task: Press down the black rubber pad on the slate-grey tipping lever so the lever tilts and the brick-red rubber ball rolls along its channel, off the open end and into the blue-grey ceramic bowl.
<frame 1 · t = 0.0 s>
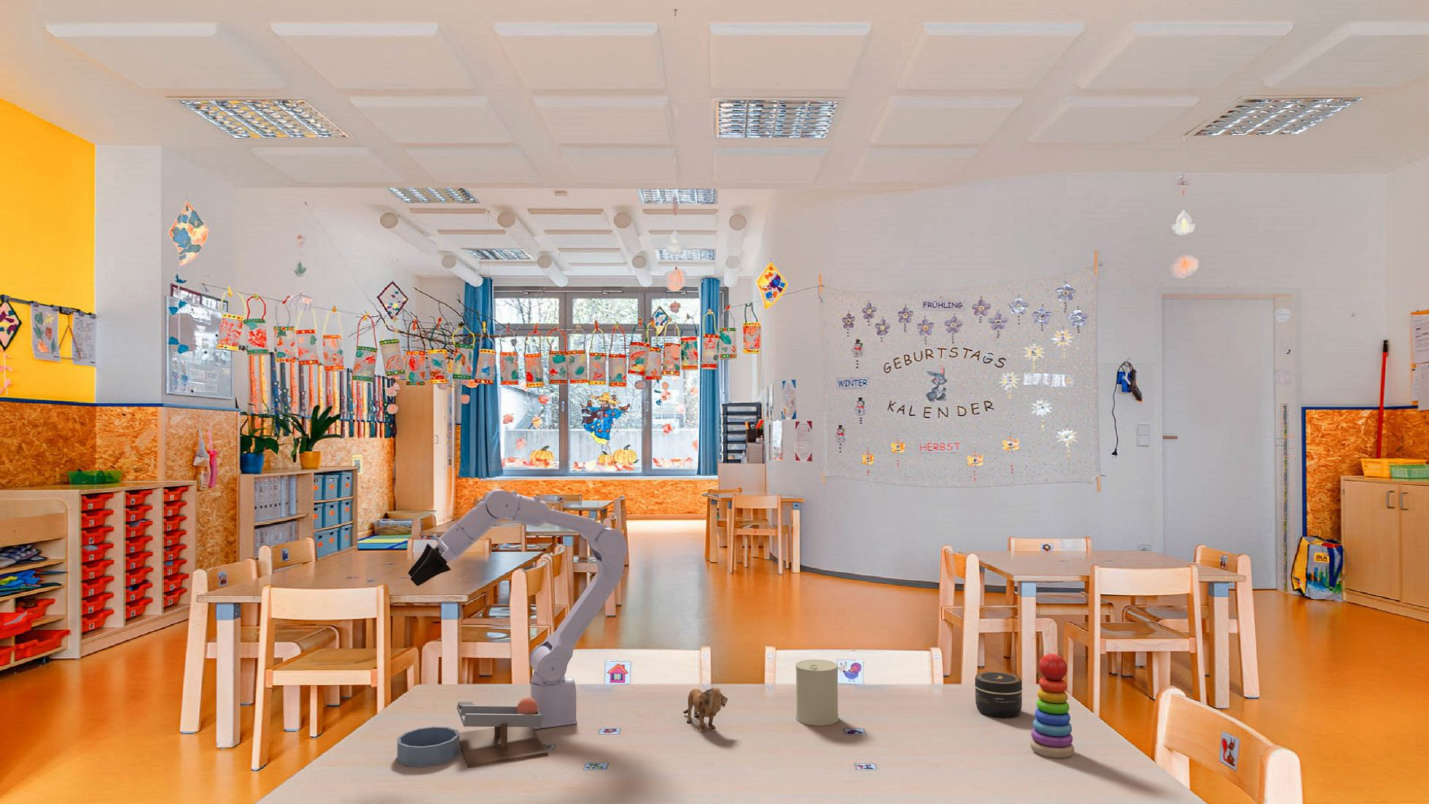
hand: (412, 579, 176), 32 cm above the table, tool tilted 50°, fingers open, 7 cm apart
lion figurine: (703, 726, 184), on the table
bowl: (428, 755, 167), on the table
stacking toy: (1052, 752, 168), on the table
can: (817, 719, 188), on the table
lever: (499, 711, 175), point 6 cm above the table, hinge at -8.0°, touching ball
jar: (998, 712, 192), on the table
ball: (527, 707, 175), point 7 cm above the table, tilted 10°, touching lever
catapult base: (500, 745, 172), on the table
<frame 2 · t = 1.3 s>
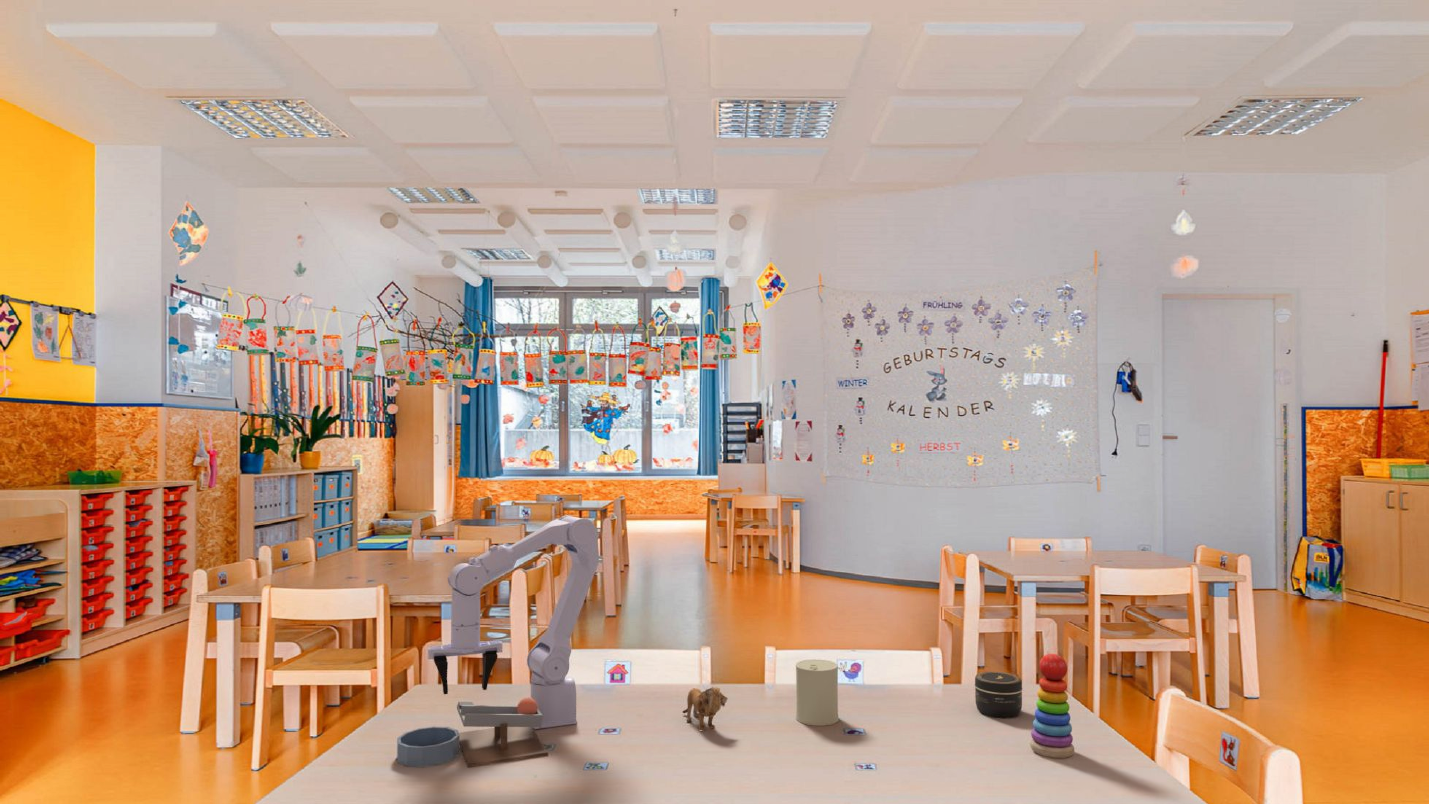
hand: (465, 690, 177), 9 cm above the table, tool pointing down, fingers open, 7 cm apart
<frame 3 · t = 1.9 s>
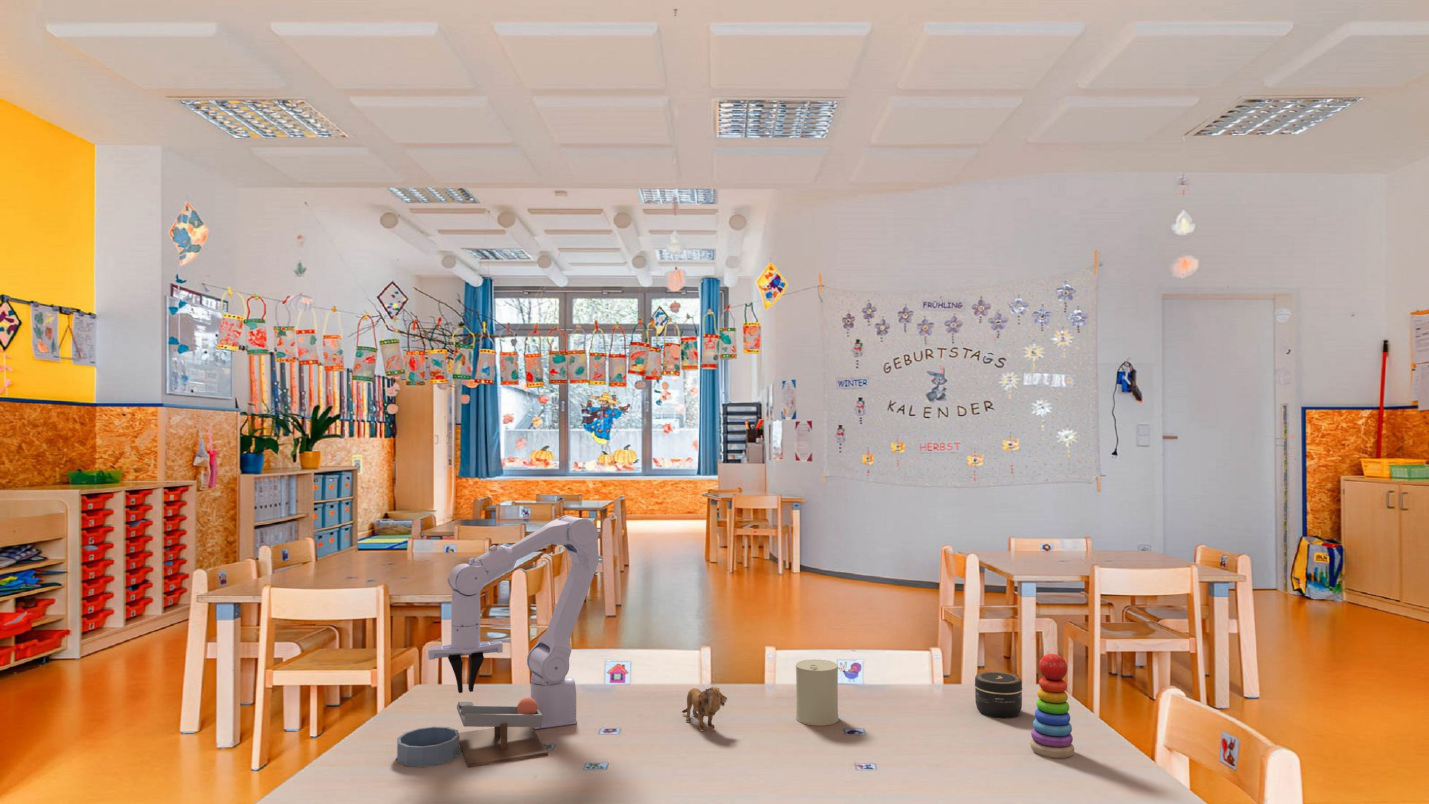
hand: (465, 691, 177), 9 cm above the table, tool pointing down, fingers closed
nothing on the table moved.
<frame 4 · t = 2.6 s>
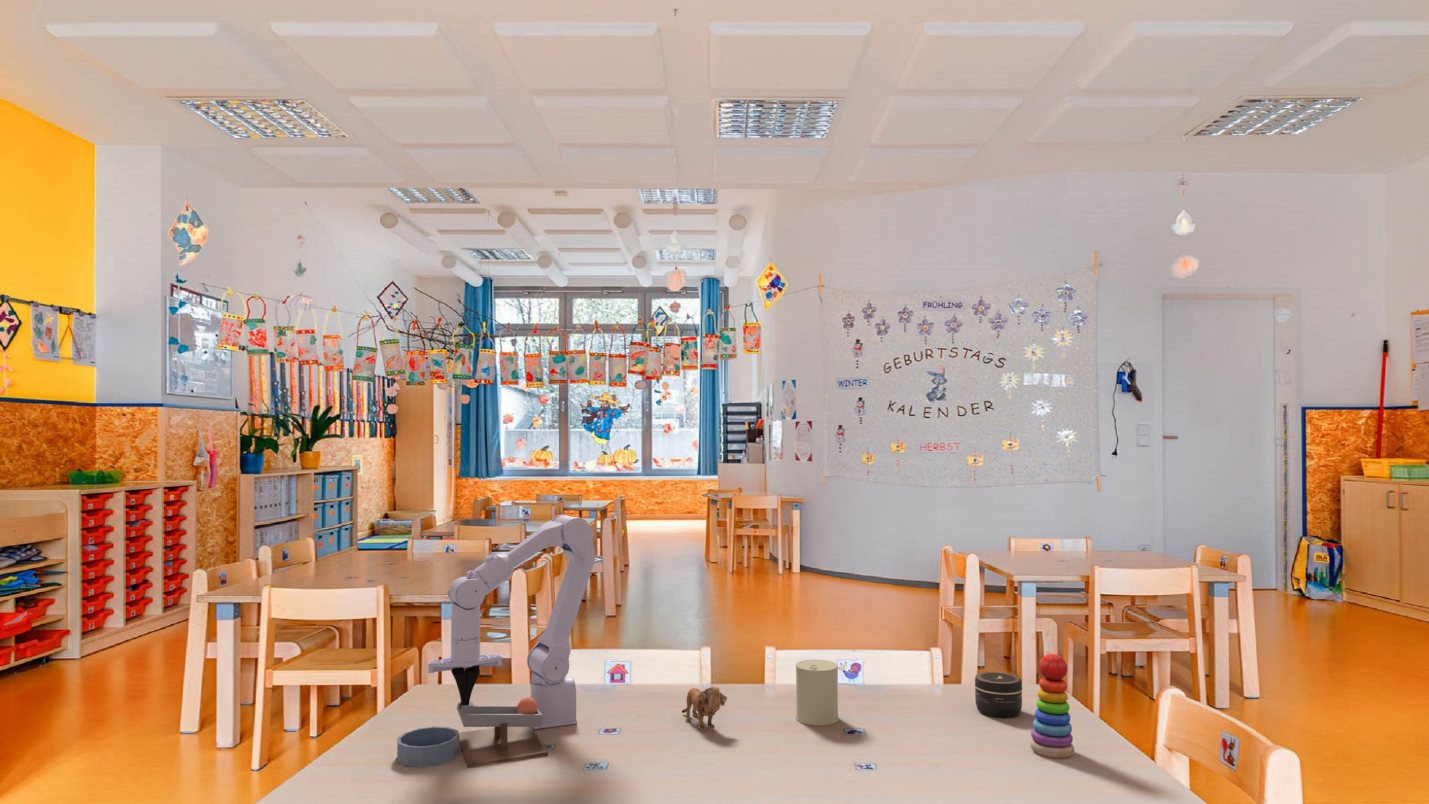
hand: (464, 704, 177), 7 cm above the table, tool pointing down, fingers closed, pressing on lever
lever: (499, 711, 175), point 6 cm above the table, hinge at -7.5°, touching ball, gripper
everything else where it was.
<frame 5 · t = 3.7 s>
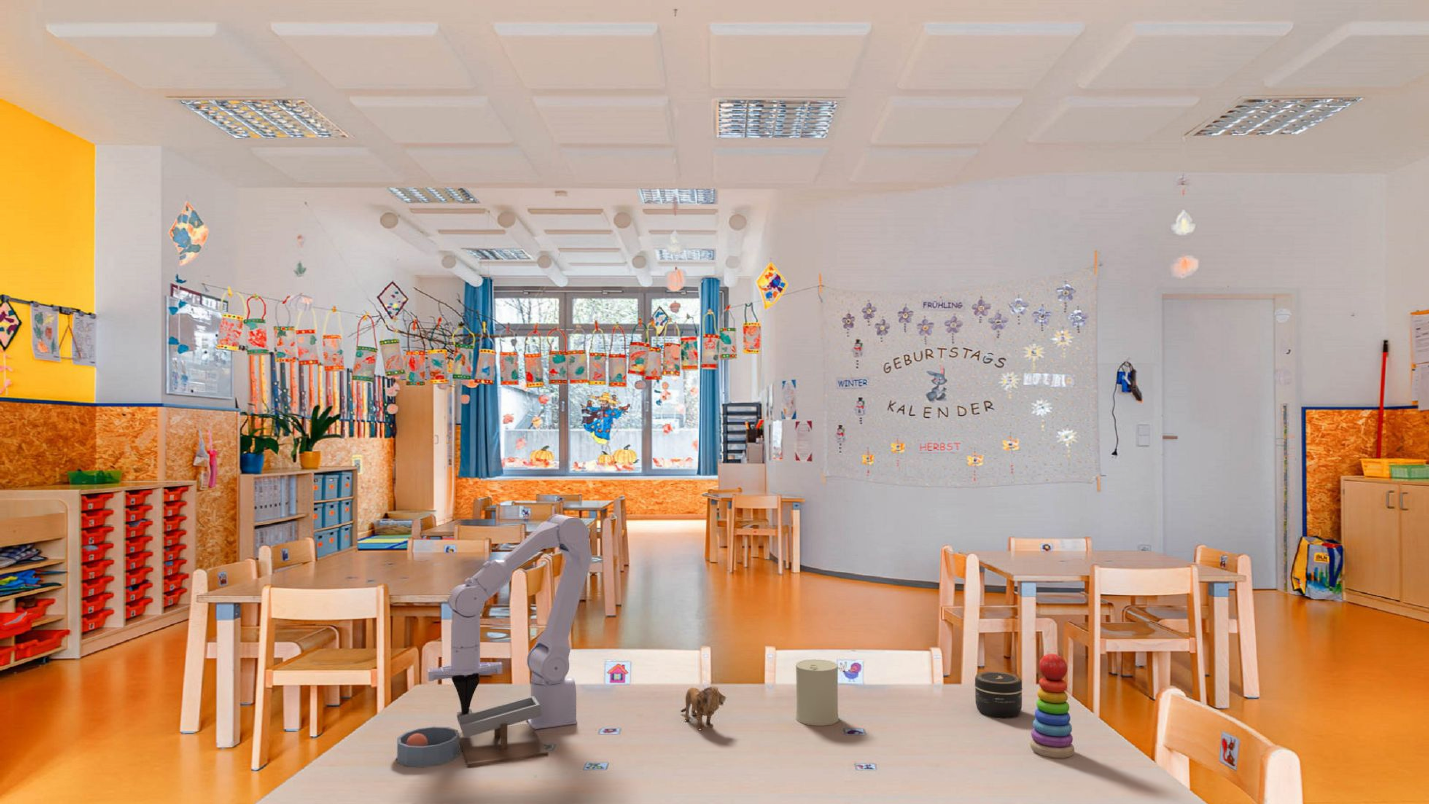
hand: (465, 712, 177), 5 cm above the table, tool pointing down, fingers closed
lever: (497, 711, 175), point 6 cm above the table, hinge at 8.8°, touching gripper
ball: (416, 744, 166), point 2 cm above the table, tilted 66°, touching bowl
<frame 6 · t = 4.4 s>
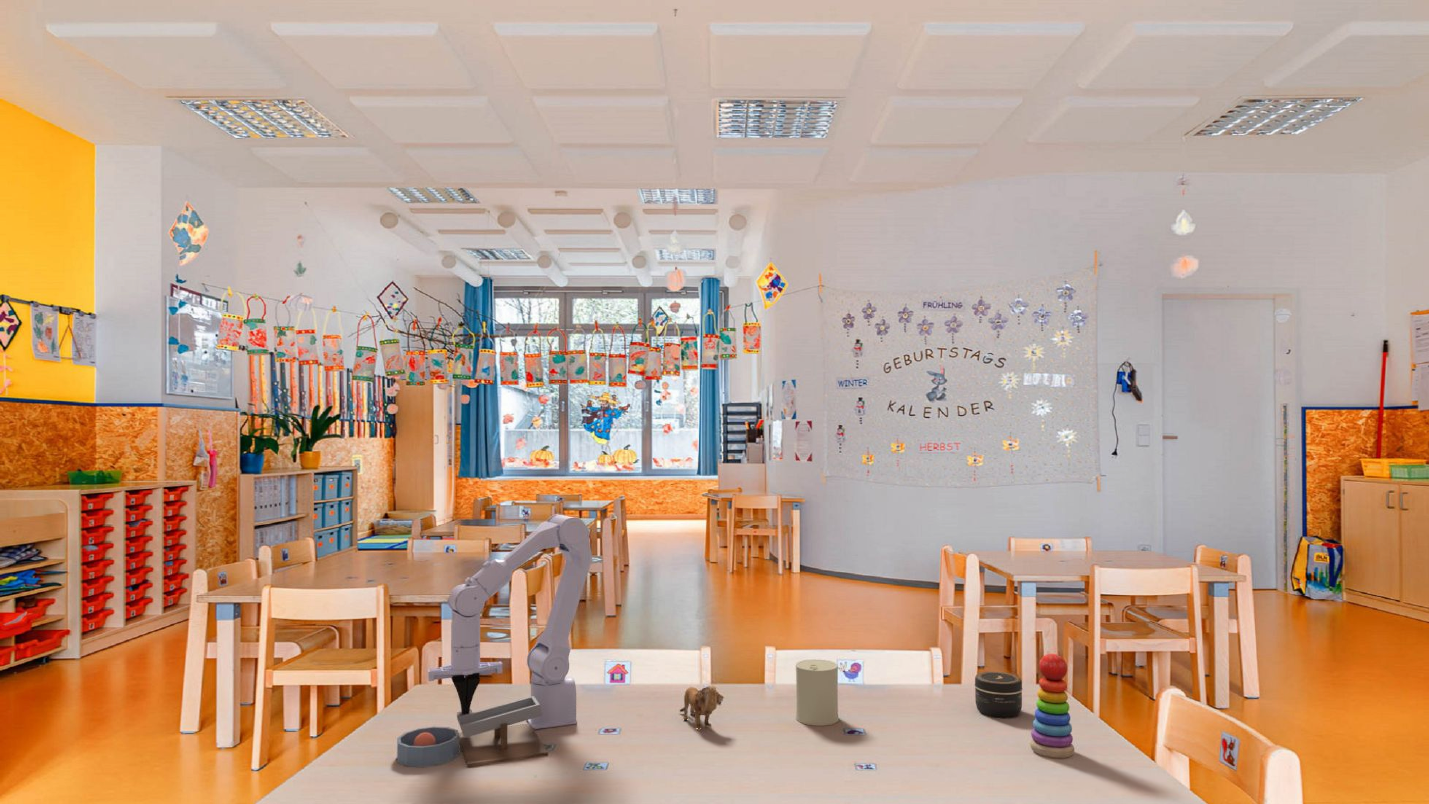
hand: (465, 711, 177), 5 cm above the table, tool pointing down, fingers closed
lever: (497, 711, 175), point 6 cm above the table, hinge at 8.8°
ball: (424, 743, 167), point 2 cm above the table, tilted 107°, touching bowl
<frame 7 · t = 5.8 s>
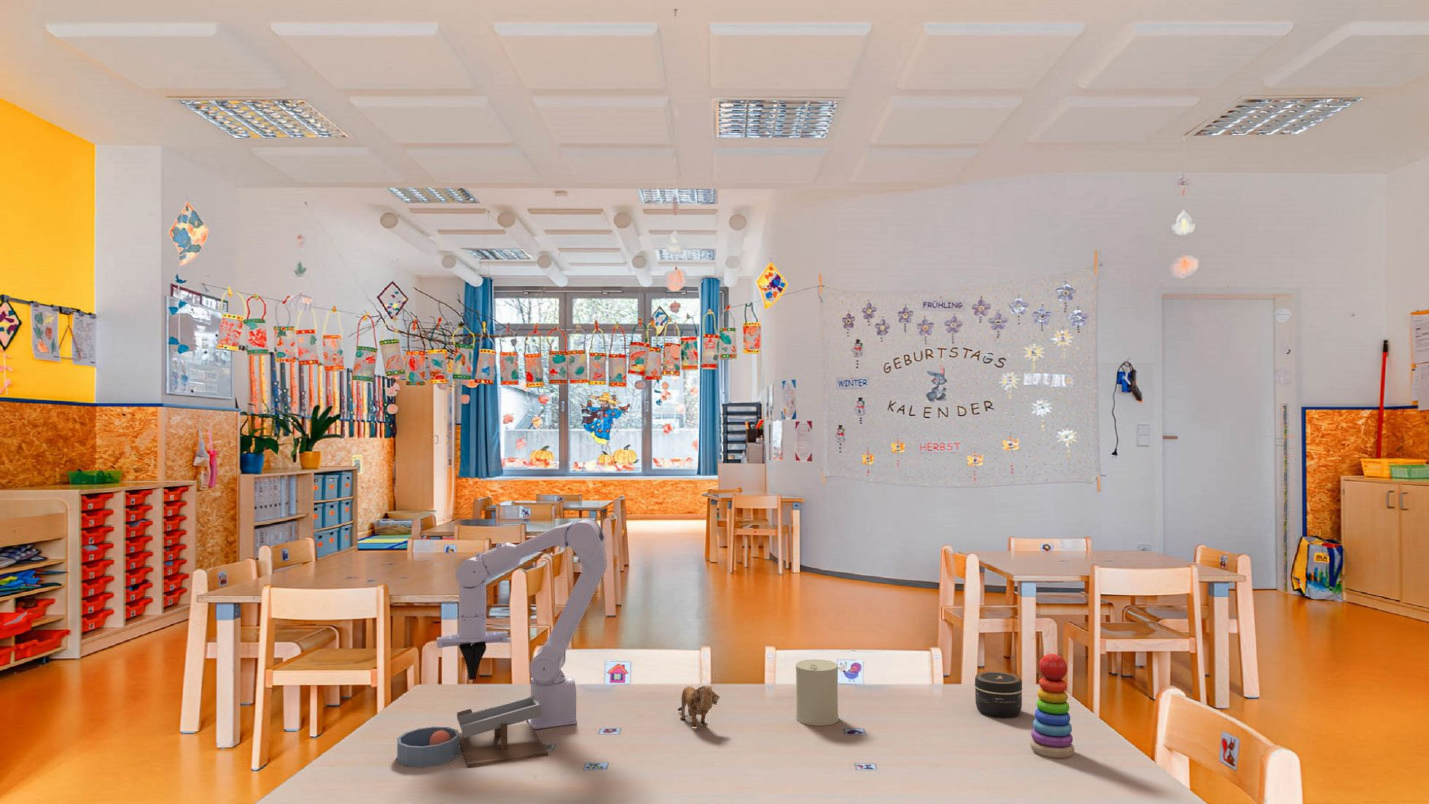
hand: (472, 678, 186), 9 cm above the table, tool pointing down, fingers closed
ball: (440, 741, 168), point 2 cm above the table, tilted 170°, touching bowl
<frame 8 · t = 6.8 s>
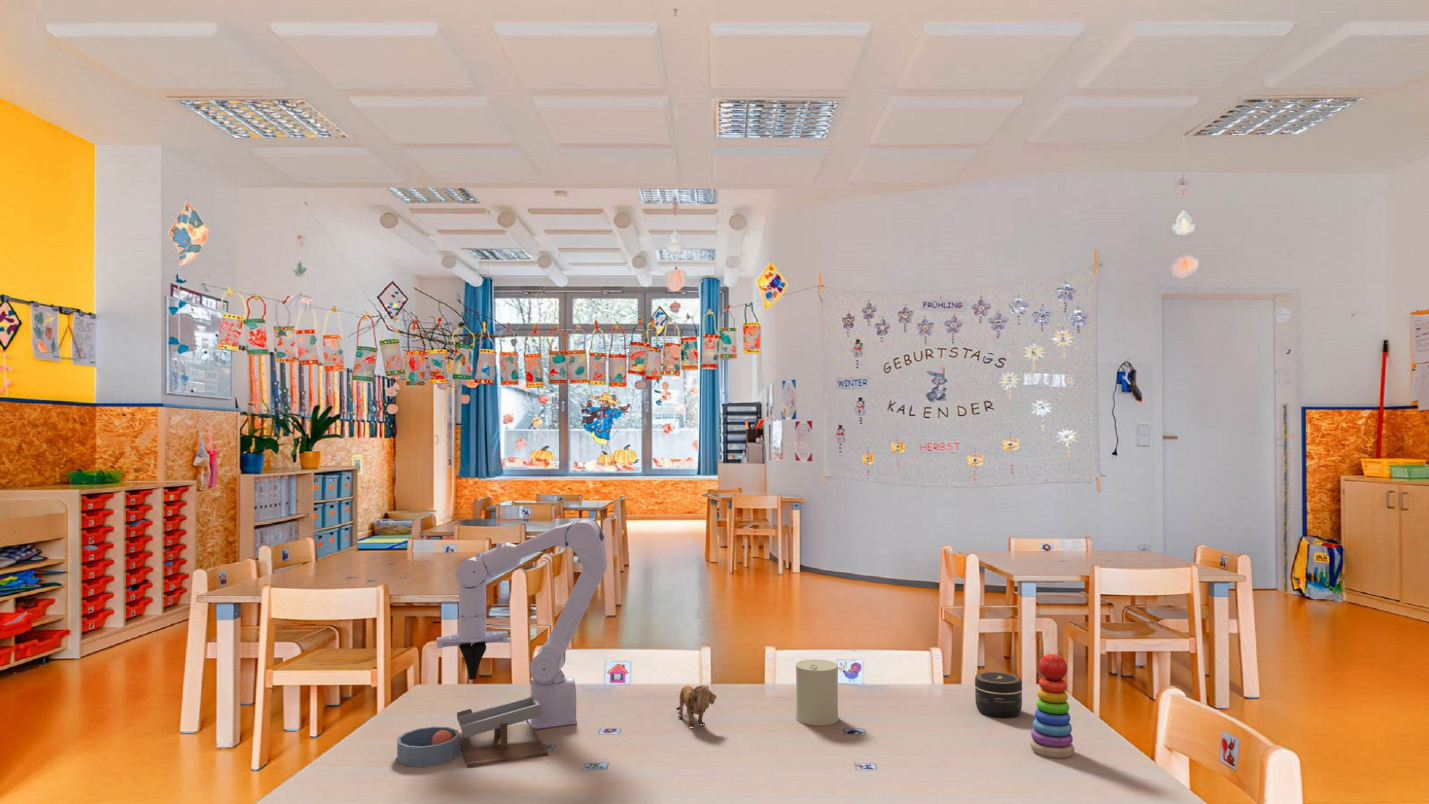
hand: (472, 678, 186), 9 cm above the table, tool pointing down, fingers closed
ball: (442, 740, 168), point 2 cm above the table, tilted 159°, touching bowl
at the end: ball inside the target area on the bowl (2.5 cm from its centre), point 2.4 cm above the bowl's base; lever at +9° (first picture: -8°) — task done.
